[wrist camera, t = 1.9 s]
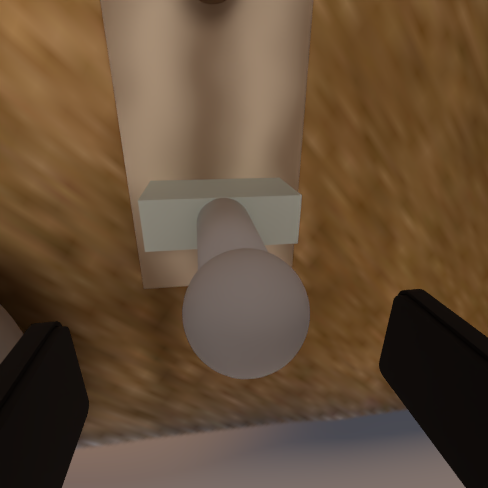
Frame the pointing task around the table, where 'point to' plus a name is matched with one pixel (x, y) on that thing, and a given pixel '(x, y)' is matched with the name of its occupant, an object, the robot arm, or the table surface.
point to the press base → (207, 100)
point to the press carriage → (233, 268)
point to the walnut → (212, 1)
